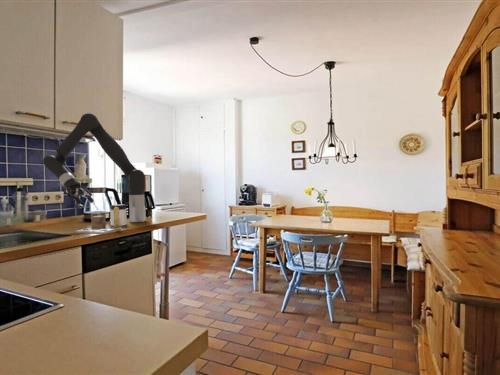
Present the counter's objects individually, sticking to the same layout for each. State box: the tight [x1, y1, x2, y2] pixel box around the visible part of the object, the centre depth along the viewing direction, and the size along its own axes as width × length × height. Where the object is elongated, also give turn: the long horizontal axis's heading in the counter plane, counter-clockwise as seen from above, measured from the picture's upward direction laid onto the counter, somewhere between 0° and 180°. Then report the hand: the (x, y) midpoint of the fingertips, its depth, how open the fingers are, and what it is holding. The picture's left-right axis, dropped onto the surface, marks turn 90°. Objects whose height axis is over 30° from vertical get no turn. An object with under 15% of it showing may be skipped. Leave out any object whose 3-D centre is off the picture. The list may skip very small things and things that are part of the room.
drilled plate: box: [75, 227, 115, 235], centre depth 165 cm, size 8×17×1 cm, turn 73°
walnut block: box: [90, 215, 107, 229], centre depth 176 cm, size 5×5×7 cm
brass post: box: [111, 207, 122, 231], centre depth 172 cm, size 4×4×12 cm
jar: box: [109, 203, 128, 227], centre depth 190 cm, size 9×8×12 cm
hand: (86, 202), depth 177 cm, fingers open, 8 cm apart
